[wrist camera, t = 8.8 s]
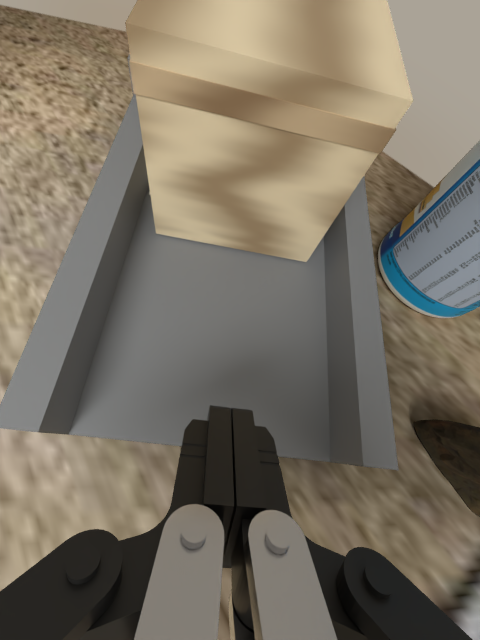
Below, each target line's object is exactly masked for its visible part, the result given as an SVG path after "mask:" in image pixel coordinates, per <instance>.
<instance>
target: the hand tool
mask: <svg viewBox="0 0 480 640" xmlns="http://www.w3.org/2000/svg"><path fill="white" fill-rule="evenodd" d="M414 426H415V430H416V432H417V436H418V437H419V439H420V440H421V442H422V443H423V445H424V447H425V448H426V450H427V451H428V453H429V454H430V456H431V457H432V459H433V461H434V463H435V464H436V466H437V467H438V468H439V469H440V470H441V472H442V473H443V475H444V476H445V477H446V478H447V479H448V480H449V481H450V483H451V484H452V485H453V487H454V488H455V489H456V491H457V492H458V493H459V495H460V496H461V498H462V499H463V500H464V502H465V503H466V504H467V506H468V507H469V508H470V510H471V511H472V512H473V513H475V514H476V515H478V516H479V517H480V428H479V427H475V426H470V425H465V424H461V423H456V422H451V421H443V420H420V421H416V422H414Z"/></svg>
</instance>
